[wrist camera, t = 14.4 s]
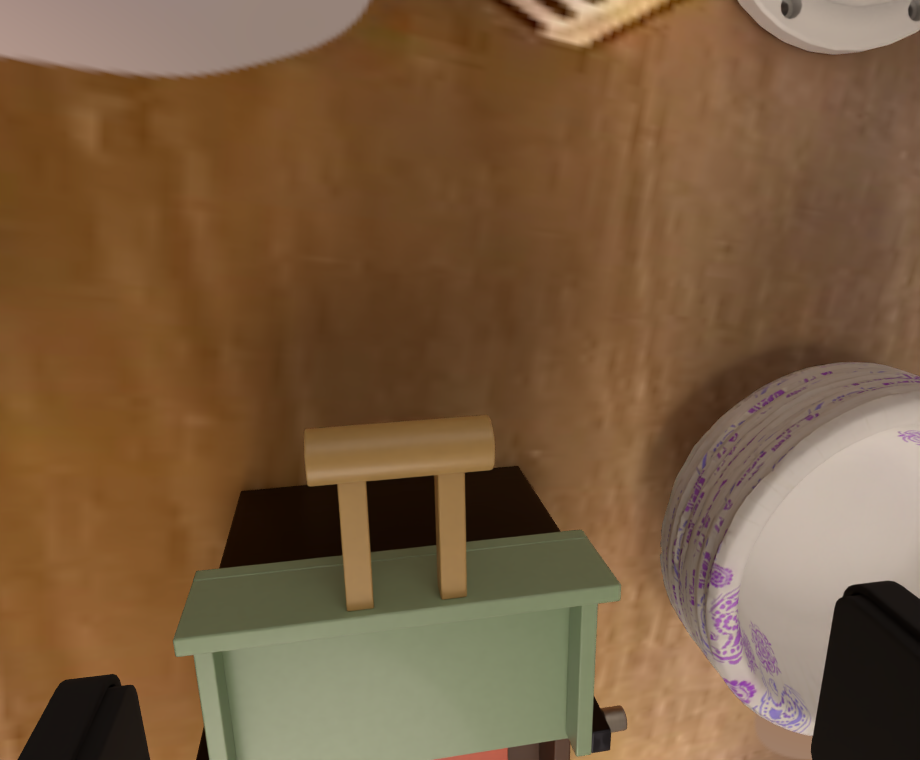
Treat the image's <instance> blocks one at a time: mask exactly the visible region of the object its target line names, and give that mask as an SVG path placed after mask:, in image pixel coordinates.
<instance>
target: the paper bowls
mask: <svg viewBox="0 0 920 760" xmlns="http://www.w3.org/2000/svg"><path fill="white" fill-rule="evenodd" d="M660 545H661V547H662V550H661V551H662V552H661V554H660V560H661V567H662V574H663V581H664V585H665V588H666V591H667V594H668V597H669V600H670V602H671V605H672V606H673V608H674V610H675V611H676V613H677V615H678V617H679V619H680V620H681V621H682V623H683V625H684V626H685V628H686V630H687V632H688V633H689V634H690V636H691V637H692V639H693V640H694V641H695V642H696V644H697V645H698V646H699V647H700V649H701V650H702V652H703V653H704V655H705V656H706V658H707V659H708V660H709V661H710V663H711V664H712V665H713V667H714V668H715V669H716V670H717V672H719V674H720V676H721V677H722V678H723V680H724V681H725V683H726V684H727V685H728V687H729V688H730V690H731V691H732V692H733V693H734V694H735V696H736V697H738V698H739V699H740V700H741V701H742V703H743V704H745V705H746V706H747V707H748V708H750V709H751V710H752V711H753V712H755V713H756V714H757V715H759V716H760V717H762V718H764V719H766V720H768V721H770V722H771V723H773V724H775V725H778V726H780V727H782V728H785V729H787V730H790V731H793V732H796V733H800V734H803V735H809V736H813V732H814V726H815V720H816V714H817V708H818V702H819V696H820V690H821V684H822V679H823V673H824V667H825V661H826V655H827V649H828V643H829V637H830V631H831V625H832V619H833V613H834V607H835V604H836V601H837V600H838V599H839V598H841V597H843V594H844V591H845V590H846V589H847V588H848V586H851V585H854V584H862V583H871V582H879V581H887V580H888V581H895V582H897V583H898V584H900V585H902V586H903V587H905V588H906V589H907V590H909V591H910V592H911V593H913V594H914V595H915V596H917V597H918V598H919V599H920V376H918V375H915V374H912V373H909V372H906V371H903V370H900V369H897V368H893V367H890V366H887V365H882V364H877V363H863V362H839V363H831V364H826V365H819V366H814V367H809V368H805V369H802V370H799V371H795V372H793V373H791V374H788V375H785V376H783V377H781V378H779V379H777V380H775V381H773V382H771V383H768V384H766V385H764V386H762V387H761V388H759V389H758V390H756V391H754V392H753V393H751V394H750V395H749V396H748V397H746V398H745V399H743V400H741V401H740V402H739V403H737V404H736V405H735V406H734V407H733V408H731V409H730V410H729V411H728V412H726V413H725V414H724V415H723V416H722V417H721V418H719V419H718V420H717V421H716V423H715V424H714V425H713V426H712V427H711V429H710V430H708V431H707V432H706V433H705V434H704V435H703V437H702V438H701V439H700V440H699V442H698V443H696V444H695V445H694V447H693V449H692V451H691V453H690V455H689V456H688V458H687V460H686V461H685V463H684V465H683V467H682V468H681V470H680V472H679V473H678V475H677V477H676V479H675V482H674V485H673V489H672V491H671V495H670V499H669V503H668V506H667V509H666V513H665V516H664V520H663V524H662V530H661V543H660Z"/></svg>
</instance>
